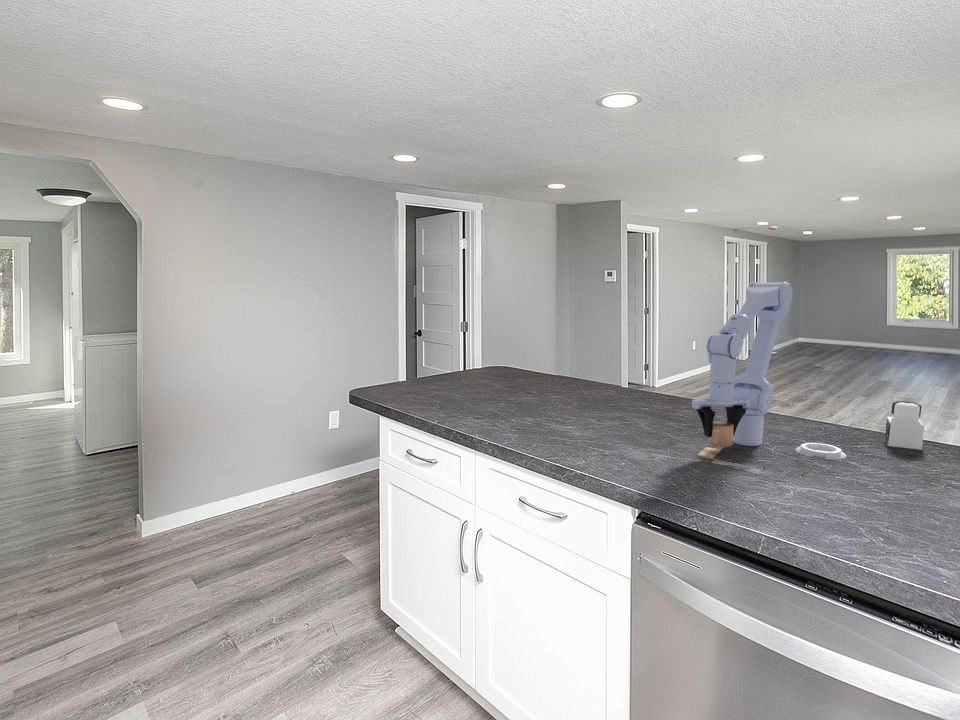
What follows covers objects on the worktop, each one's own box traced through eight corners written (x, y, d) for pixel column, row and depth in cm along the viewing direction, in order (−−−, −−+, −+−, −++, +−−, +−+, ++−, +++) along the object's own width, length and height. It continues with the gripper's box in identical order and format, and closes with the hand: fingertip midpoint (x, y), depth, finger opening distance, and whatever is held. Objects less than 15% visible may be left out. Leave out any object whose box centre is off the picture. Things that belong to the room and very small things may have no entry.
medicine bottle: (884, 441, 153) (888, 398, 151) (917, 445, 149) (922, 401, 148) (887, 448, 147) (891, 403, 145) (921, 452, 143) (926, 406, 142)
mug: (711, 439, 145) (712, 420, 145) (735, 442, 142) (736, 423, 141) (702, 447, 138) (703, 427, 138) (726, 451, 135) (727, 430, 134)
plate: (797, 446, 149) (798, 439, 149) (847, 453, 143) (848, 445, 143) (792, 457, 141) (793, 449, 140) (844, 465, 134) (845, 457, 134)
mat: (705, 448, 148) (705, 447, 148) (738, 454, 144) (738, 452, 143) (697, 456, 142) (697, 454, 142) (731, 462, 137) (732, 460, 137)
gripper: (739, 378, 145) (736, 430, 147) (686, 380, 143) (684, 432, 145) (756, 383, 138) (753, 437, 140) (701, 385, 136) (698, 440, 138)
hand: (719, 435), depth 142 cm, fingers closed on mug, 6 cm apart
